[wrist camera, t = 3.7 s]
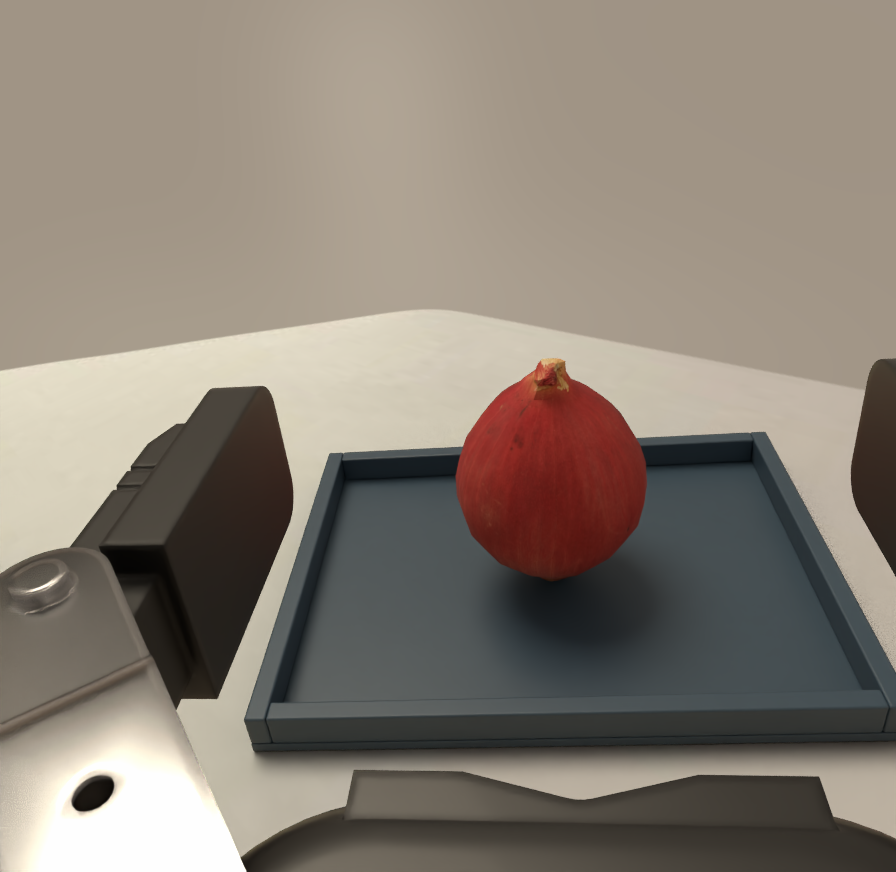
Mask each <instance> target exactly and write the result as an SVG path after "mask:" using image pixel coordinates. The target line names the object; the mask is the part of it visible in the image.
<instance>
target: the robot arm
mask: <svg viewBox="0 0 896 872" xmlns="http://www.w3.org/2000/svg"><path fill="white" fill-rule="evenodd" d="M851 486H852V493H853V498H854V501H855V504H856V507H857V509H858V511H859V513H860V515H861V517H862V518H863V520H864V522H865V524H866V525H867V527H868V529H869V531H870V532H871V534H872V536H873V537H874V539H875V541H876V543H877V544H878V546H879V548H880V550H881V551H882V553H883V555H884V557H885V558H886V560H887V562H888V564H889V565H890V567H891V569H892V571H893V572H894V574H895V576H896V359H880V360H878V361H876V362H875V363H874V365H873V366H872V368H871V371H870V373H869V377H868V381H867V386H866V391H865V396H864V401H863V406H862V412H861V417H860V422H859V427H858V432H857V438H856V443H855V448H854V453H853V459H852V465H851ZM292 511H293V484H292V478H291V473H290V469H289V465H288V460H287V456H286V452H285V448H284V443H283V439H282V435H281V430H280V426H279V422H278V418H277V413H276V409H275V405H274V401H273V398H272V395H271V393H270V391H269V390H268V389H267V388H266V387H264V386H252V387H230V388H212V389H210V390H209V391H208V392H207V394H206V395H205V396H204V398H203V399H202V401H201V402H200V404H199V405H198V406H197V408H196V409H195V411H194V412H193V413H192V415H191V416H190V418H189V419H188V420H187V422H186V423H185V424H176V425H174V426H173V427H171V428H170V429H169V430H167V431H166V432H164V433H163V434H161V435H160V436H158V437H157V438H156V439H154V440H153V441H151V442H150V443H148V444H147V446H146V447H145V448H144V450H143V451H142V452H141V454H140V455H139V456H138V458H137V459H136V460H135V462H134V463H133V464H132V466H131V471H127V472H126V473H125V475H124V476H123V477H122V479H121V480H120V481H119V483H118V484H117V490H113V491H112V492H111V493H110V495H109V496H108V497H107V499H106V500H105V501H104V503H103V504H102V505H101V507H100V508H99V509H98V511H97V512H96V513H95V515H94V516H93V517H92V519H91V520H90V521H89V523H88V524H87V525H86V526H85V528H84V529H83V530H82V532H81V533H80V534H79V536H78V537H77V538H76V540H75V541H74V542H73V544H72V545H71V546H70V548H62V549H56V550H52V551H48V552H44V553H41V554H38V555H35V556H32V557H30V558H28V559H25V560H23V561H21V562H19V563H17V564H15V565H14V566H12V567H10V568H8V569H7V570H5V571H4V572H2V573H1V574H0V872H896V839H895V838H893V837H891V836H889V835H886V834H884V833H882V832H880V831H877V830H874V829H871V828H868V827H865V826H862V825H860V824H857V823H854V822H851V821H848V820H844V819H840V818H836V817H833V816H832V813H831V810H830V807H829V804H828V801H827V798H826V795H825V792H824V789H823V787H822V784H821V781H820V778H819V777H808V776H738V775H696V776H692V777H687V778H683V779H678V780H674V781H669V782H665V783H660V784H656V785H652V786H647V787H643V788H638V789H634V790H629V791H625V792H620V793H616V794H611V795H607V796H602V797H598V798H593V799H587V800H575V799H569V798H564V797H560V796H556V795H553V794H549V793H545V792H541V791H537V790H533V789H529V788H525V787H521V786H517V785H513V784H509V783H505V782H501V781H497V780H494V779H490V778H486V777H482V776H478V775H474V774H470V773H466V772H458V771H388V770H354V772H353V776H352V781H351V786H350V790H349V795H348V800H347V805H346V807H342V808H338V809H334V810H330V811H328V812H325V813H322V814H319V815H316V816H313V817H310V818H308V819H305V820H303V821H301V822H299V823H297V824H294V825H292V826H290V827H288V828H286V829H284V830H282V831H280V832H278V833H277V834H275V835H273V836H272V837H270V838H268V839H267V840H265V841H263V842H262V843H260V844H258V845H257V846H255V847H254V848H253V849H251V850H250V851H249V852H247V853H246V854H245V855H243V856H242V857H241V858H240V856H239V854H238V852H237V849H236V847H235V845H234V842H233V840H232V838H231V836H230V833H229V831H228V829H227V826H226V824H225V822H224V819H223V817H222V815H221V813H220V810H219V808H218V806H217V803H216V801H215V799H214V796H213V794H212V792H211V790H210V787H209V785H208V783H207V780H206V778H205V776H204V773H203V771H202V769H201V767H200V764H199V762H198V760H197V757H196V755H195V753H194V751H193V748H192V746H191V744H190V741H189V739H188V737H187V734H186V732H185V730H184V728H183V725H182V723H181V721H180V718H179V716H178V714H177V711H176V710H177V707H178V705H179V703H180V701H181V699H218V696H219V694H220V691H221V689H222V686H223V684H224V681H225V679H226V677H227V674H228V672H229V669H230V667H231V664H232V662H233V660H234V657H235V655H236V652H237V650H238V647H239V645H240V643H241V640H242V638H243V635H244V633H245V630H246V628H247V625H248V623H249V621H250V618H251V616H252V613H253V611H254V608H255V606H256V604H257V601H258V599H259V596H260V594H261V591H262V589H263V586H264V584H265V582H266V579H267V577H268V574H269V572H270V569H271V567H272V565H273V562H274V560H275V557H276V555H277V552H278V550H279V548H280V545H281V543H282V540H283V538H284V535H285V533H286V530H287V528H288V526H289V523H290V520H291V516H292Z"/></svg>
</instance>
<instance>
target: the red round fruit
mask: <svg viewBox="0 0 896 872" xmlns="http://www.w3.org/2000/svg"><path fill="white" fill-rule="evenodd" d="M646 488H647V474H646V461H645V458H644V455H643V452H642V449H641V446H640V444H639V442H638V441H637V439H636V437H635V436H634V434H633V432H632V431H631V429H630V427H629V426H628V424H627V423H626V421H625V419H624V418H623V416H622V415H621V413H620V412H619V411H618V410H617V409H616V408H615V407H614V406H613V404H612V403H610V402H609V401H608V400H606V399H605V398H604V397H603V396H601V395H600V394H598V393H597V392H595V391H594V390H592V389H591V388H589V387H588V386H586V385H584V384H582V383H581V382H578V381H575V380H573V379H571V378H570V377H569V375H568V374H567V372H566V368H565V361H563V360H561V359H554V358H552V359H542V360H541V361H540V362H539V363H538V365H537V368H536V370H534V371H533V372H531V373H530V374H529V375H527V376H526V377H524V378H523V379H522V380H521V381H519V382H517V383H515V384H513V385H512V386H510V387H508V388H507V389H505V390H504V391H502V392H501V393H500V394H499V395H498V396H497V397H496V398H495V399H494V401H493V402H492V403H491V404H490V405H489V406H488V408H487V409H486V410H485V411H484V412H483V414H482V415H481V416H480V418H479V419H478V421H477V422H476V424H475V425H474V427H473V428H472V430H471V431H470V432H469V434H468V435H467V437H466V440H465V443H464V446H463V449H462V452H461V455H460V458H459V463H458V467H457V472H456V490H457V497H458V500H459V503H460V506H461V509H462V511H463V514H464V517H465V519H466V522H467V525H468V527H469V530H470V533H471V535H472V536H473V537H474V539H475V540H476V541H477V542H478V543H479V544H480V545H481V546H482V547H483V548H484V549H485V550H486V551H487V552H488V553H489V554H490V555H492V556H493V557H494V558H495V559H496V560H497V561H498V562H499V563H500V564H502V565H504V566H507V567H509V568H512V569H514V570H517V571H519V572H522V573H524V574H527V575H530V576H534V577H540V578H542V579H544V580H548V581H558V580H561V579H565V578H568V577H572V576H577V575H579V574H581V573H583V572H585V571H587V570H589V569H591V568H593V567H595V566H597V565H598V564H600V563H602V562H604V561H606V560H607V559H609V558H610V557H611V556H612V555H613V554H614V553H615V552H616V551H617V550H618V549H619V548H620V547H621V545H622V544H623V543H624V542H625V541H626V540H627V538H628V537H629V536H630V535H631V534H632V533H633V531H634V530H635V529H636V528H637V527H638V524H639V520H640V517H641V513H642V510H643V506H644V502H645V495H646Z"/></svg>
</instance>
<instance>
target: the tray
mask: <svg viewBox="0 0 896 872" xmlns="http://www.w3.org/2000/svg"><path fill="white" fill-rule="evenodd" d="M636 439H637V441H638V442H639V444H640V446H641V449H642V452H643V455H644V458H645V461H646V474H647V488H646V495H645V502H644V506H643V510H642V513H641V517H640V520H639V524H638V527H637V528H636V529H635V530H634V531H633V533H632V534H631V535H630V536H629V537H628V538H627V540H626V541H625V542H624V543H623V544H622V545H621V547H620V548H619V549H618V550H617V551H616V552H615V553H614V554H613V555H612V556H611V557H610V558H609V559H607V560H606V561H604V562H602V563H600V564H598V565H597V566H595V567H593V568H591V569H589V570H587V571H585V572H583V573H581V574H579V575H577V576H572V577H568V578H565V579H561V580H558V581H548V580H544V579H542V578H540V577H534V576H530V575H527V574H524V573H522V572H519V571H517V570H514V569H512V568H509V567H507V566H504V565H502V564H500V563H499V562H498V561H497V560H496V559H495V558H494V557H493V556H492V555H490V554H489V553H488V552H487V551H486V550H485V549H484V548H483V547H482V546H481V545H480V544H479V543H478V542H477V541H476V540H475V539H474V537H473V536H472V535H471V533H470V530H469V527H468V525H467V522H466V519H465V517H464V514H463V511H462V509H461V506H460V503H459V500H458V497H457V490H456V472H457V467H458V463H459V458H460V455H461V452H462V449H463V447H448V448H428V449H408V450H388V451H368V452H347V453H344V454H343V453H330V454H329V457H328V460H327V463H326V466H325V469H324V472H323V475H322V478H321V481H320V485H319V488H318V491H317V494H316V497H315V500H314V503H313V506H312V510H311V513H310V516H309V519H308V522H307V525H306V528H305V531H304V534H303V538H302V541H301V544H300V547H299V550H298V553H297V556H296V559H295V563H294V566H293V569H292V572H291V575H290V578H289V581H288V584H287V587H286V591H285V594H284V597H283V600H282V603H281V606H280V609H279V612H278V616H277V619H276V622H275V625H274V628H273V631H272V634H271V637H270V641H269V644H268V647H267V650H266V653H265V656H264V659H263V662H262V665H261V669H260V672H259V675H258V678H257V681H256V684H255V687H254V690H253V694H252V697H251V700H250V703H249V706H248V709H247V712H246V715H245V718H244V722H245V725H246V728H247V731H248V734H249V737H250V740H251V742H252V748H253V750H254V751H288V750H349V749H411V748H473V747H535V746H596V745H658V744H720V743H781V742H843V741H896V672H895V670H894V669H893V667H892V665H891V663H890V661H889V659H888V657H887V656H886V654H885V652H884V650H883V648H882V646H881V645H880V643H879V641H878V639H877V637H876V635H875V633H874V632H873V630H872V628H871V626H870V624H869V622H868V621H867V619H866V617H865V615H864V613H863V611H862V609H861V608H860V606H859V604H858V602H857V600H856V598H855V597H854V595H853V593H852V591H851V589H850V587H849V585H848V584H847V582H846V580H845V578H844V576H843V574H842V572H841V571H840V569H839V567H838V565H837V563H836V561H835V560H834V558H833V556H832V554H831V552H830V550H829V548H828V547H827V545H826V543H825V541H824V539H823V537H822V536H821V534H820V532H819V530H818V528H817V526H816V524H815V523H814V521H813V519H812V517H811V515H810V513H809V512H808V510H807V508H806V506H805V504H804V502H803V500H802V499H801V497H800V495H799V493H798V491H797V489H796V488H795V486H794V484H793V482H792V480H791V478H790V476H789V475H788V473H787V471H786V469H785V467H784V465H783V463H782V462H781V460H780V458H779V456H778V454H777V452H776V451H775V449H774V447H773V445H772V443H771V441H770V439H769V438H768V436H767V434H766V432H752V433H730V434H710V435H690V436H670V437H650V438H636Z"/></svg>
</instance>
